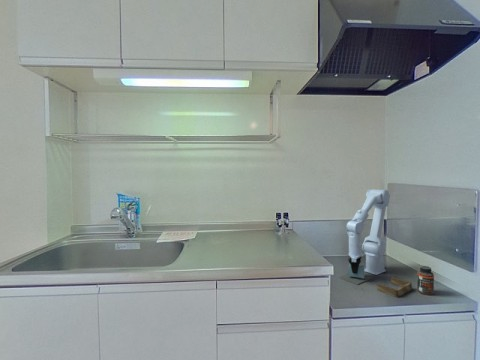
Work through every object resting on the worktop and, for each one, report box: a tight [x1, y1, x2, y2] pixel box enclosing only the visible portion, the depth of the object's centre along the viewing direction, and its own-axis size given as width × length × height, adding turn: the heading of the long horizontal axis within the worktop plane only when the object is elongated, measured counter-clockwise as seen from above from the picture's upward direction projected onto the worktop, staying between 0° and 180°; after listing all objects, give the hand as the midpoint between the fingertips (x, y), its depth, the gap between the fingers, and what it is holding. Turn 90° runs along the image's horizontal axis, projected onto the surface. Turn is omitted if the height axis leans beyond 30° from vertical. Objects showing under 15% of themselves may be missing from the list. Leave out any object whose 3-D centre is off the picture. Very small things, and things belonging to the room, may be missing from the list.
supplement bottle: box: [416, 265, 435, 296], centre depth 118 cm, size 6×6×11 cm
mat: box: [339, 273, 372, 286], centre depth 135 cm, size 11×10×1 cm
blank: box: [348, 262, 365, 278], centre depth 134 cm, size 4×7×5 cm, turn 63°
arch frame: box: [376, 276, 413, 298], centre depth 121 cm, size 13×9×3 cm
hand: (355, 271), depth 134 cm, fingers closed on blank, 4 cm apart
